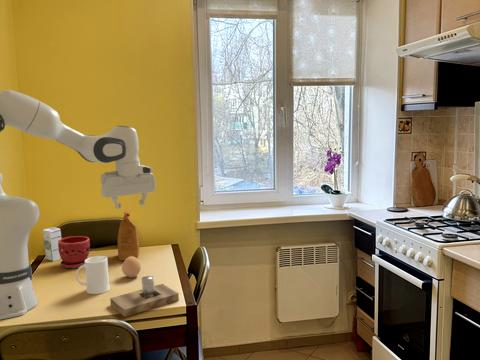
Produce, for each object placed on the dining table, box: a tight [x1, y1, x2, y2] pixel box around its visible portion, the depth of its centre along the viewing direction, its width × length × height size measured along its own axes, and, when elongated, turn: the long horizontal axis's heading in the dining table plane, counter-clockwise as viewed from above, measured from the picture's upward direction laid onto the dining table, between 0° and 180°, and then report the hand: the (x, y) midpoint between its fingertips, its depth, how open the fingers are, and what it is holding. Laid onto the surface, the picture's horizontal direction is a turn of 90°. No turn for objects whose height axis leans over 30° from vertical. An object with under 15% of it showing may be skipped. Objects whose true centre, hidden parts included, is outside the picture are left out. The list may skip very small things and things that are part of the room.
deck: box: [109, 283, 180, 318], centre depth 151 cm, size 20×12×2 cm, turn 127°
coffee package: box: [117, 208, 140, 261], centre depth 202 cm, size 10×12×22 cm
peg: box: [141, 275, 155, 299], centre depth 152 cm, size 4×4×8 cm
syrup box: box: [42, 226, 62, 262], centre depth 202 cm, size 6×6×14 cm
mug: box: [75, 255, 111, 295], centre depth 162 cm, size 12×8×12 cm
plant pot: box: [58, 235, 91, 269], centre depth 192 cm, size 13×13×12 cm
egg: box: [121, 256, 142, 278], centre depth 176 cm, size 7×7×8 cm
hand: (130, 206), depth 163 cm, fingers open, 8 cm apart
